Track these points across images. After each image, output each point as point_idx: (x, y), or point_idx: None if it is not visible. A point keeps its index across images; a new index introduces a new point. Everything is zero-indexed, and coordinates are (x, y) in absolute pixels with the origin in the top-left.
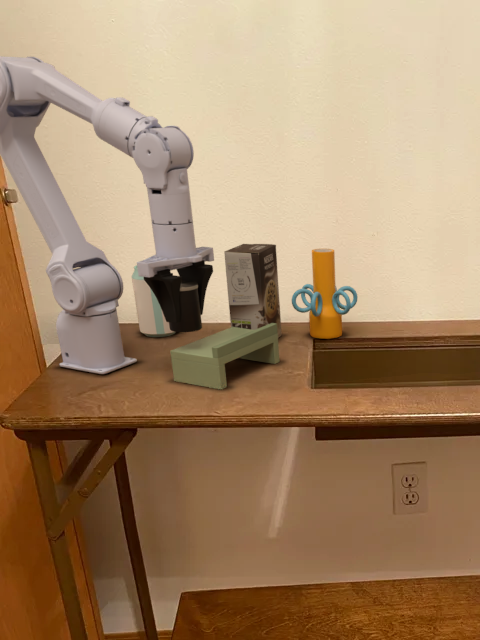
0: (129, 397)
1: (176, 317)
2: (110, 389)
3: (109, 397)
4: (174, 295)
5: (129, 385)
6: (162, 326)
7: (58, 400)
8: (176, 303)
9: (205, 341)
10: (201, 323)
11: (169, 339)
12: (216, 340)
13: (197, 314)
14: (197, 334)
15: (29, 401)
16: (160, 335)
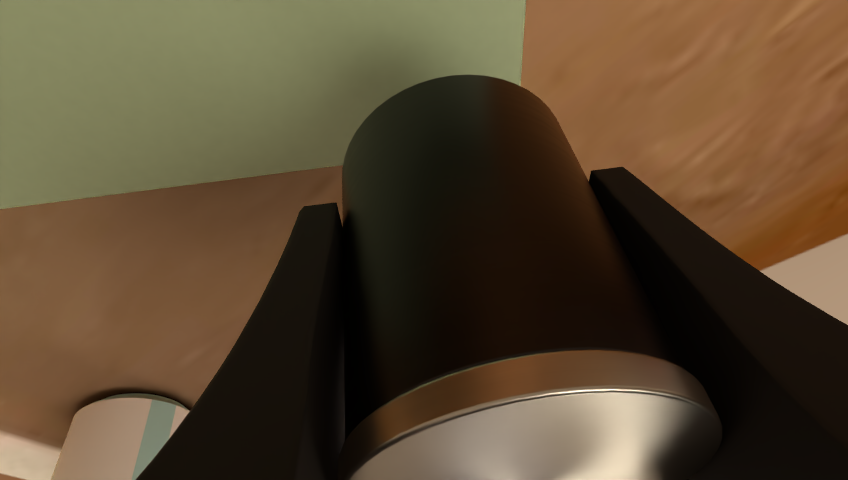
0: (724, 56)
1: (652, 190)
2: (652, 170)
3: (735, 113)
4: (824, 325)
5: (594, 155)
6: (150, 422)
7: (782, 203)
8: (724, 266)
9: (267, 125)
10: (394, 115)
11: (153, 373)
12: (202, 89)
13: (465, 149)
14: (36, 364)
15: (796, 245)
16: (163, 400)
